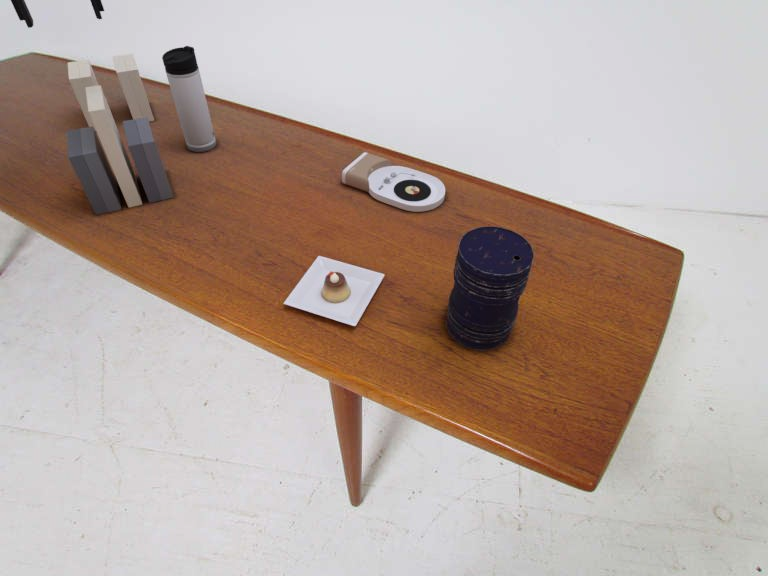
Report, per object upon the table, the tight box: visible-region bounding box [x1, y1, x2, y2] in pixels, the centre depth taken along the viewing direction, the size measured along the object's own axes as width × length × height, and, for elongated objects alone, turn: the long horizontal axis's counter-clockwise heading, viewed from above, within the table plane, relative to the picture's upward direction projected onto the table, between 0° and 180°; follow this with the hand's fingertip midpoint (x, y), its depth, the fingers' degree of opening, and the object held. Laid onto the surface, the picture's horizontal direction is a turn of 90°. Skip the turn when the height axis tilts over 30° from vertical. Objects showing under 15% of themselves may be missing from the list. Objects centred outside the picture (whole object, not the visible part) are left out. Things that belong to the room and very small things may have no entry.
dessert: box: [283, 255, 386, 327], centre depth 77 cm, size 12×12×5 cm
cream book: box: [85, 84, 143, 208], centre depth 90 cm, size 2×10×19 cm, turn 26°
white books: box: [67, 53, 155, 132], centre depth 115 cm, size 14×10×12 cm
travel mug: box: [161, 45, 217, 153], centre depth 103 cm, size 6×7×20 cm
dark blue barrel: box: [445, 225, 535, 351], centre depth 70 cm, size 10×10×15 cm
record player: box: [341, 151, 446, 213], centre depth 99 cm, size 12×3×20 cm
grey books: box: [66, 117, 174, 216], centre depth 93 cm, size 14×10×12 cm
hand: (65, 20), depth 77 cm, fingers open, 9 cm apart
